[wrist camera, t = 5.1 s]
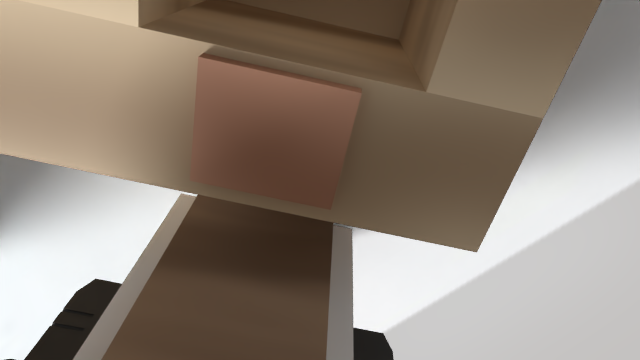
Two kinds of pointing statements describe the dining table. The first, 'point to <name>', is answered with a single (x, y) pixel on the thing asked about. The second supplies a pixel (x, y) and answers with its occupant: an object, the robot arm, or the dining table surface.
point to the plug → (234, 289)
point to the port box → (294, 100)
